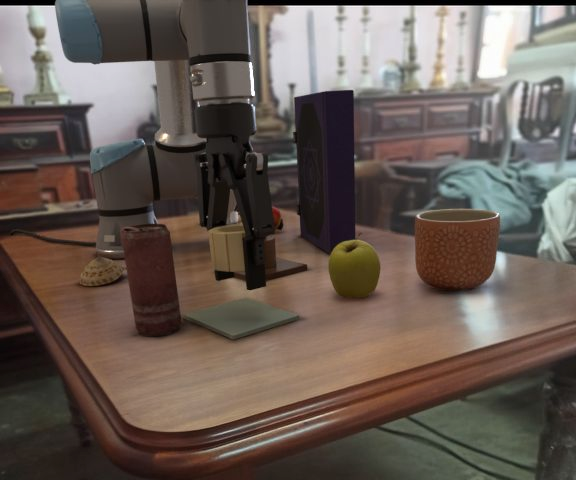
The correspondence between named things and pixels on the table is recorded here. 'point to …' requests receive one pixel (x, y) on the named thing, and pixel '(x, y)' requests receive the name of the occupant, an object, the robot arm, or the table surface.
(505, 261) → the table surface
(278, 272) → the stand
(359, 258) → the apple
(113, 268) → the seashell
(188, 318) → the mat
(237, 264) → the tape roll
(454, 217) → the planter
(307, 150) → the book
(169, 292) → the can
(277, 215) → the figurine
